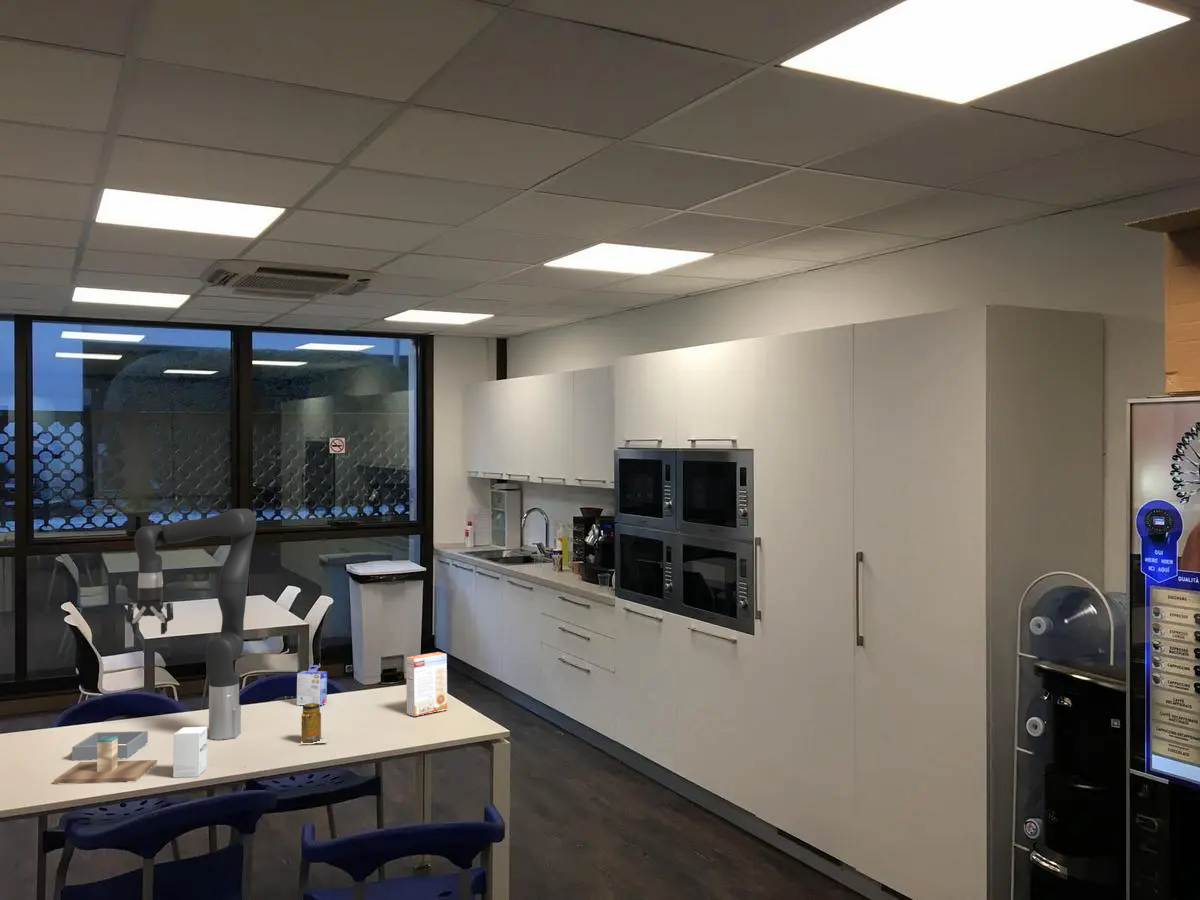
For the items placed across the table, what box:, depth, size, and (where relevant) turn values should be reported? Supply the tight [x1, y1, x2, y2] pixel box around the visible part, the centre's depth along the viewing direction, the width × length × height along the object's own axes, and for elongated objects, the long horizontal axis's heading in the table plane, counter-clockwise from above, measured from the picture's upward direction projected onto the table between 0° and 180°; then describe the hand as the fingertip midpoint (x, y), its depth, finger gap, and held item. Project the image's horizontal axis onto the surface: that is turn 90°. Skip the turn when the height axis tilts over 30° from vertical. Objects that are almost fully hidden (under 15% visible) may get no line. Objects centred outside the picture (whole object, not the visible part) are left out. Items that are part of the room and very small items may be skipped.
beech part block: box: [96, 736, 119, 772], centre depth 272 cm, size 4×4×9 cm
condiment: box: [300, 703, 322, 743], centre depth 304 cm, size 7×8×12 cm
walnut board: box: [53, 759, 158, 784], centre depth 272 cm, size 22×16×1 cm
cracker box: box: [405, 651, 448, 717], centre depth 340 cm, size 14×6×21 cm, turn 133°
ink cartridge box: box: [296, 664, 328, 706], centre depth 352 cm, size 10×6×14 cm, turn 78°
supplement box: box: [172, 726, 208, 778], centre depth 273 cm, size 7×7×13 cm
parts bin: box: [71, 730, 149, 761], centre depth 294 cm, size 16×16×4 cm
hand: (150, 634), depth 314 cm, fingers open, 8 cm apart
